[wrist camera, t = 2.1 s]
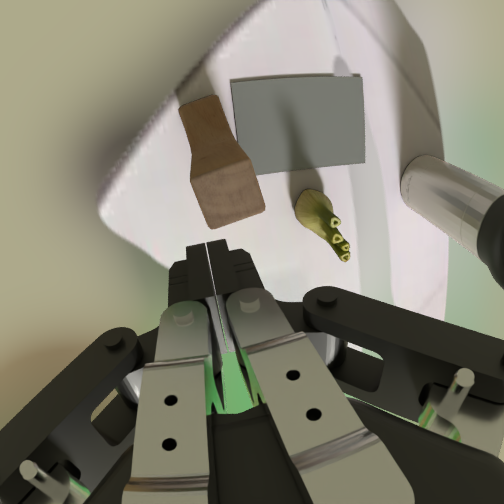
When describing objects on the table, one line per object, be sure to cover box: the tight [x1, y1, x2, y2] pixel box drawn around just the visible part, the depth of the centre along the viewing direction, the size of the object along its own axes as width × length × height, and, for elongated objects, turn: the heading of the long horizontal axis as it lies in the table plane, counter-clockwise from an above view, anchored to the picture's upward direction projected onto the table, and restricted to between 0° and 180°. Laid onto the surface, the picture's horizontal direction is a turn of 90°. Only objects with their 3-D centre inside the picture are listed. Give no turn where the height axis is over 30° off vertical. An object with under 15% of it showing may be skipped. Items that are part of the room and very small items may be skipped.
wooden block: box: [179, 95, 265, 229], centre depth 30 cm, size 9×4×18 cm, turn 17°
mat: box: [231, 77, 365, 175], centre depth 38 cm, size 17×12×1 cm
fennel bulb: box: [295, 189, 350, 262], centre depth 39 cm, size 6×5×12 cm
